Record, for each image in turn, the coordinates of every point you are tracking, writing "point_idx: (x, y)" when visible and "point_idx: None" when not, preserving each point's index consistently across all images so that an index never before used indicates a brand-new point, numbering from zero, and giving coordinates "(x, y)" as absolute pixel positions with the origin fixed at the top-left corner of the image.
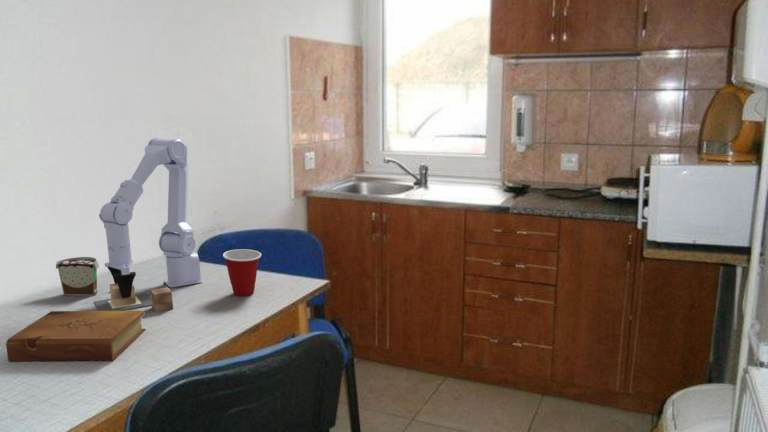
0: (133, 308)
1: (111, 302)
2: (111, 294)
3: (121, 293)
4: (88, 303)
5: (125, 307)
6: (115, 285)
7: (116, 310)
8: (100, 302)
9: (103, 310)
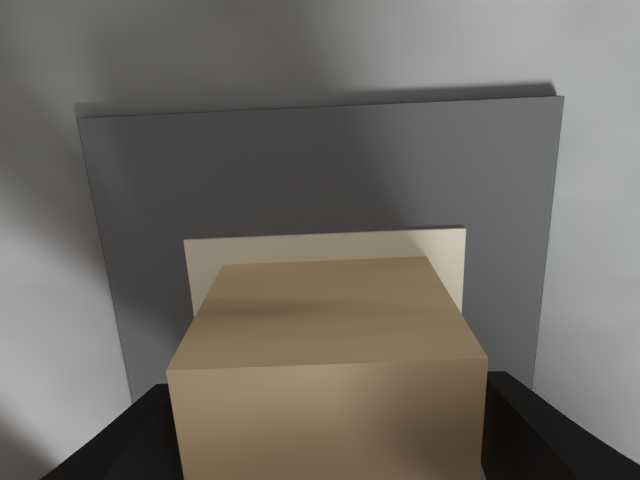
0: (134, 394)
1: (392, 253)
2: (368, 299)
3: (116, 420)
4: (563, 30)
5: (172, 344)
6: (360, 421)
7: (114, 267)
8: (472, 154)
9: (173, 155)
